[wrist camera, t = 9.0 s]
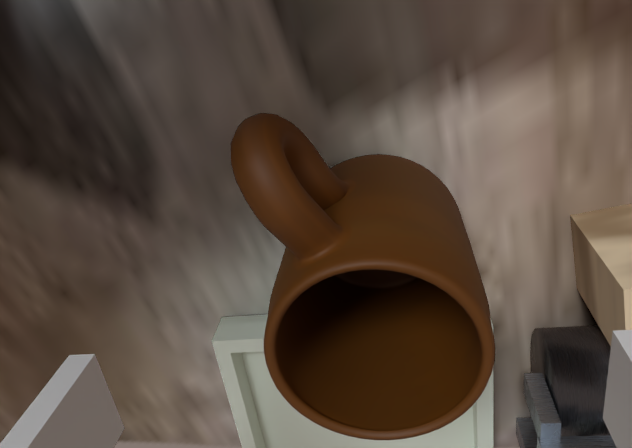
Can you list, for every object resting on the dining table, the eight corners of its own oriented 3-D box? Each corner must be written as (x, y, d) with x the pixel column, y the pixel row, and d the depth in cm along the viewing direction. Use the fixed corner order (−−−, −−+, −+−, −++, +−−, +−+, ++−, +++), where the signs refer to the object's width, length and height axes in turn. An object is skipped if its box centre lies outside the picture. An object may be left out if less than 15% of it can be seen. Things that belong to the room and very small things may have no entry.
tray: (276, 519, 36) (271, 549, 34) (221, 316, 29) (211, 341, 27) (487, 519, 34) (493, 551, 32) (485, 301, 27) (493, 326, 25)
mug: (210, 118, 24) (120, 210, 16) (359, 23, 21) (347, 71, 13) (348, 314, 28) (336, 470, 20) (487, 252, 26) (540, 401, 17)
